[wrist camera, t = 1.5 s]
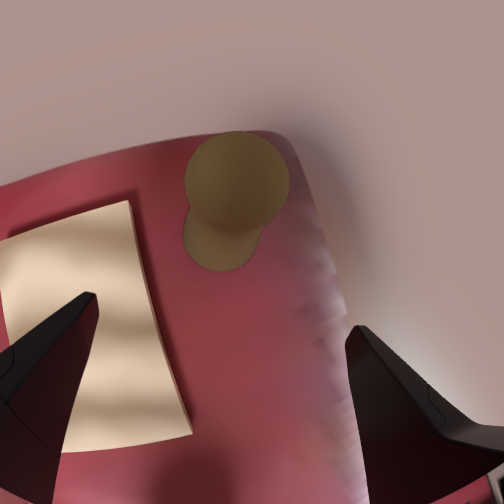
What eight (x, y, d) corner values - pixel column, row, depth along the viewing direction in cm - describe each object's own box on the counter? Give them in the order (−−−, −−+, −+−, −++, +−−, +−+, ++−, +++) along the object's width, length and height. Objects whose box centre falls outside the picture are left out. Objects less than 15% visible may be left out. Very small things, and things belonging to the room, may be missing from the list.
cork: (242, 190, 24) (276, 104, 14) (269, 257, 24) (328, 206, 13) (172, 211, 23) (160, 128, 12) (197, 282, 22) (198, 248, 12)
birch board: (192, 427, 19) (192, 434, 18) (54, 446, 16) (47, 452, 15) (131, 207, 22) (127, 199, 21) (5, 247, 19) (-4, 242, 18)
